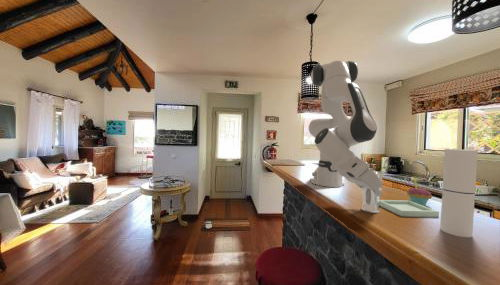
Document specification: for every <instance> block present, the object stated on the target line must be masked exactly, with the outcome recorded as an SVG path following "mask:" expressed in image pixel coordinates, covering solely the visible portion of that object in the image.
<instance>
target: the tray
mask: <svg viewBox="0 0 500 285" xmlns="http://www.w3.org/2000/svg"><path fill="white" fill-rule="evenodd" d="M378 205H379V206H380V207H382V208H383V209H385V210H388V211H390V212H391V213H394V214H396V215H398V216H400V217H411V218H413V217H418V218H439V215H440V211H438V210H436V209H433V208H431V207H428V206H426V205H425V206H422V205H420V204H417V203H414V202H412V201H411V200H404V199H403V200H400V199H399V200H397V199H396V200H395V199H394V200H393V199H379V204H378Z"/></svg>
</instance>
